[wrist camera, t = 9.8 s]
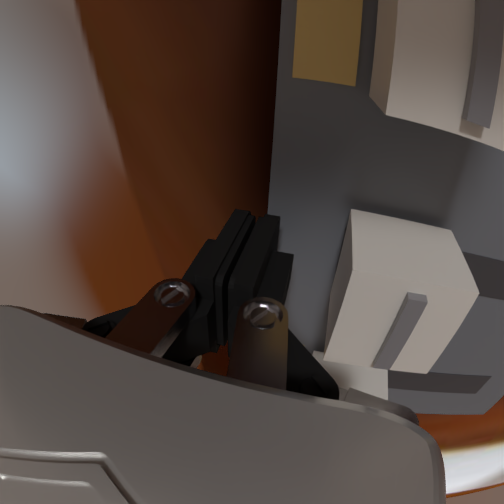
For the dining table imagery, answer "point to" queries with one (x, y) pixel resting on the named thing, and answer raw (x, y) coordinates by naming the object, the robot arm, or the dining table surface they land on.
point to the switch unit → (380, 195)
